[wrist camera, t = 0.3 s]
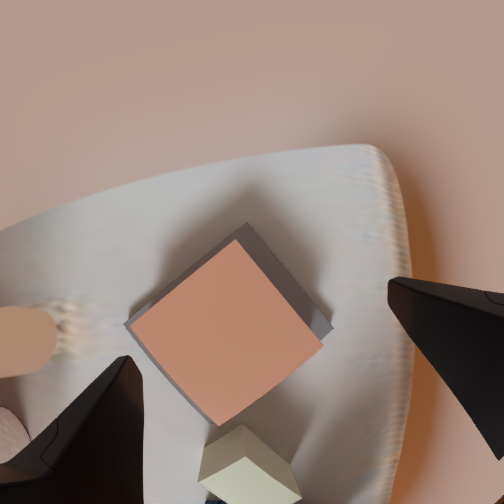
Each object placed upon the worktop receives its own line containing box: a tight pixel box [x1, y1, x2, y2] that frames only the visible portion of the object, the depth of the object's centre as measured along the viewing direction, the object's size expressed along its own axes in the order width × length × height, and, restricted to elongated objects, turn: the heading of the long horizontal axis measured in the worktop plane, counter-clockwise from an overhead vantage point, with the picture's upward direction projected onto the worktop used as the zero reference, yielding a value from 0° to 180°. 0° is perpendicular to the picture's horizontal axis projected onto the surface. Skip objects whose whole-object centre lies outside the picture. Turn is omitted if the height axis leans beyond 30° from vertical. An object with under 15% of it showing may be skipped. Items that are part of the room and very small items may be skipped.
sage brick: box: [198, 423, 302, 504], centre depth 17 cm, size 7×5×6 cm, turn 40°
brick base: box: [124, 223, 334, 426], centre depth 19 cm, size 11×13×5 cm
